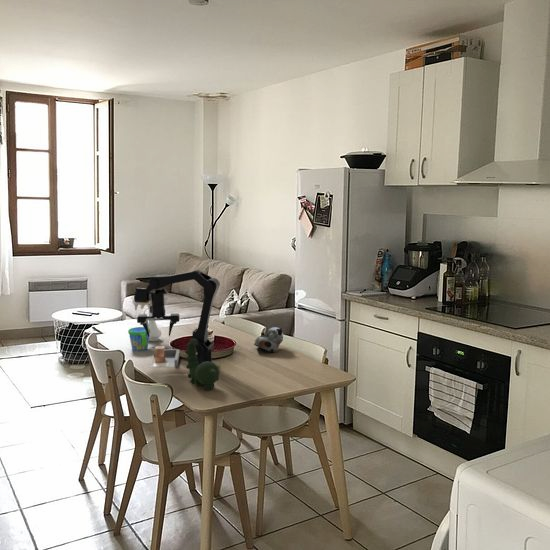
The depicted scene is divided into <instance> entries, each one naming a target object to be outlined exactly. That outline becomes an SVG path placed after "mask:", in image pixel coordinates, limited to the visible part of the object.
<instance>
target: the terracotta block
mask: <svg viewBox="0 0 550 550" xmlns="http://www.w3.org/2000/svg"><path fill="white" fill-rule="evenodd" d="M165 349H166V348H165V345H160V346H159V345H158V346H155V347H154V350H155V363H163V362H164V360H165Z"/></svg>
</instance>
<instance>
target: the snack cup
mask: <svg viewBox="0 0 550 550" xmlns="http://www.w3.org/2000/svg"><path fill="white" fill-rule="evenodd" d="M127 331H128V335H129V339H130V340H129V341H130V345H131V350H132V351H134V352H135V351H136V352H141V351H142V352H143V351H145V350H148V348H149V343H150V341H149V337H148V335H147V332H146V330H145V328H144V327H143V326H138V327H137V326H136V327H131V328H128V330H127ZM150 332H151V331H150V328H149V333H150Z"/></svg>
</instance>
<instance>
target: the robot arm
mask: <svg viewBox="0 0 550 550" xmlns="http://www.w3.org/2000/svg"><path fill="white" fill-rule="evenodd" d="M193 280H194V281H195V282H197V283H198V285H199V286H201V287H202V288H203V304H202V308H201V311H200V312H201V313H200V316H199V321H198V327H197V328H195V329H194V330H193V331H192V334H191V335H192V336H191V339H193V338H194V339H196V340H197V341H198V346H196V345H195V349H196V356H197V361H198V363H199V364H201V363H202V362H205V361H210V362H213V361H212V347H213V342H211V340H210V339H209V330H208V326H209V322H210V317H211V312H212V308H213V304H214V299H215V297H216V295H217V293H218V291H219V288H220V287H221V286H220V285H221V283H220V281H219V279H217V278H215V277H212V276H211V275H209V274H207V273H204V272H203V271H201V270H200V269H194V270H190V271H186V272H182V273H181V272H179V273H176V274H174V273H173V274H157V275H154V276H152V277H151V278H150V279H149V282H148V285H147V286H146V287H136V288H135V292H134V295H133V299H134V301H135V302H136V303H148V302H149V301H151V299H152V306H150V313H152V316H149V315H148V313H147V314H146V313H145V314H143V313H142V314H139V315H137V317H136V321H137V323H136V324H140V325H141V326H142V327H144V328H145V330H146V332H147V335H148V337H150V333H149V327H148V324H149V320H155V321H169V326H168V327H169V328H168V337H171V335H172V334H171V333H172V329H173V327H174V325H175V324H177V323H179V322H180V319H181V318H180V314H179V313H170V315H166V308H165V307H166V306H165V305H166V304H164V297H165V295H167V294H169V292H170V291H169V290H168V289H166V286H169V285H173V284H178V283H183V282H188V281H193ZM161 288H162V289H161ZM153 290H154V291H153Z"/></svg>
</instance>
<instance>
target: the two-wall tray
mask: <svg viewBox="0 0 550 550" xmlns="http://www.w3.org/2000/svg"><path fill="white" fill-rule="evenodd" d="M179 353H180V348H171V349H166V348H165V360H164V362H163V363H155V349H153V357H152V361H151V363H150V366H149V368H150V369H153V368H177V367H178V364H179V360H180V356H179Z"/></svg>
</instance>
